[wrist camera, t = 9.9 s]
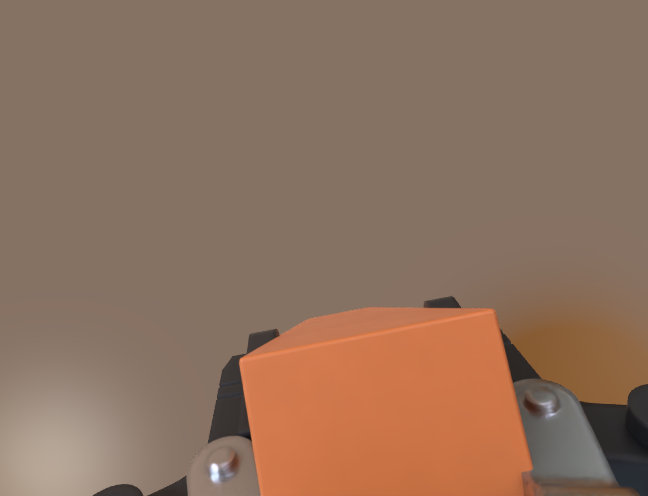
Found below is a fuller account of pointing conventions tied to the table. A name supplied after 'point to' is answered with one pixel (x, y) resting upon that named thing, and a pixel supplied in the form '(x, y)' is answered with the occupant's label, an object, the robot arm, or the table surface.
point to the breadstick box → (386, 406)
